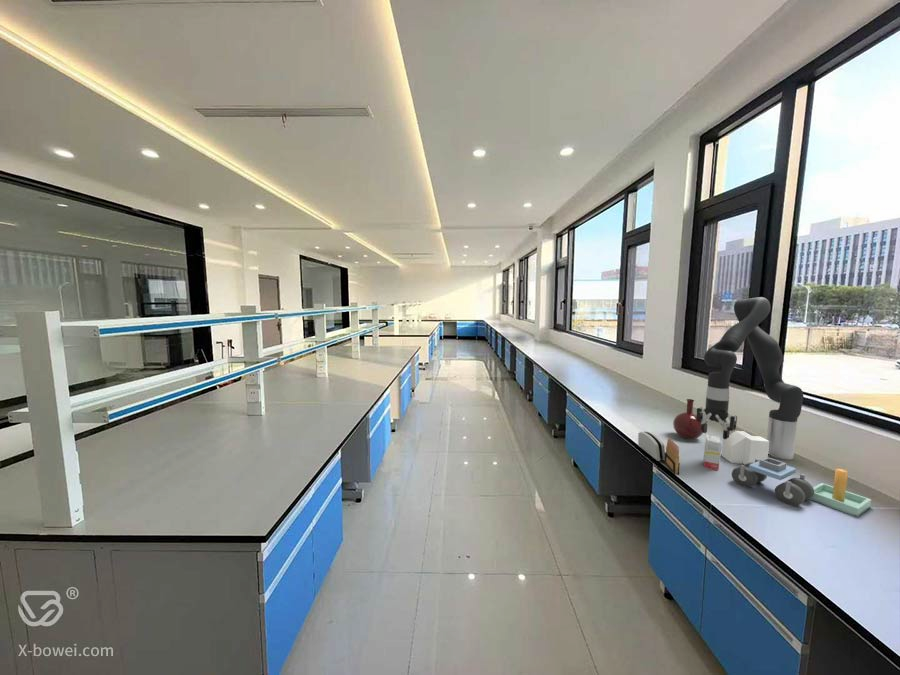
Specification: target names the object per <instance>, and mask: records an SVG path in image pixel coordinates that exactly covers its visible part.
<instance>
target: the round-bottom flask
mask: <svg viewBox="0 0 900 675" xmlns="http://www.w3.org/2000/svg"><path fill="white" fill-rule="evenodd" d="M686 402H687V403H686V411H685V412H681V413H678V414H677V415H676V416H675V417H674V419H673V422H672V426H673V429H674V431H675V432H676V433H677V435H678V436H680V437H682V438H683V439H687V440H694V439H699V438H700V437H701V436H702V435H703V434H704V433H703V432H702V431H701V425H702V424H701V423H700V422H698V421H697V413H693V412H694V411H693V410H694V402H695V399H692V398H691V399H689V398H687V399H686Z"/></svg>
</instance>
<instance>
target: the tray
mask: <svg viewBox="0 0 900 675" xmlns="http://www.w3.org/2000/svg"><path fill="white" fill-rule="evenodd" d="M812 487H813V489H814V495H813V496H812V497H811V498H809V499H808V500H811V501H813V502H816V503H819V504H822V505H824V506H826V507H829V508H831V509H835V510H837V511H840V512H843V513H846V514H847V515H850V516H854V517H856V518H858V517H860V516H861V515H863V514H864V512H866V511H867V510H869V509H870V508H871V504H872V499H871V498H868V497H865V496H862V495H859V494H856V493H853V492H850V491H847V490H846V492H845V500H844V503H843V502H840V501H838V500H835V499H832V495H833V487H834V485H829V484H827V483H824V482H823V483H822V482H821V483H818V484H817V485H815V486H812Z"/></svg>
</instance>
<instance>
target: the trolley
mask: <svg viewBox="0 0 900 675" xmlns="http://www.w3.org/2000/svg"><path fill="white" fill-rule="evenodd" d="M787 464H788V463H787V462H784V461H781V460H779V459H775V458H773V457H772V458H771V457H769V456H768V457H766V458H763V459H761V460H760V461H759V460H758V459H755V463H748V464H744V465H743V464H741V465H740V466H739V467H735V468H734V469H733V470H732V471H731V477H732V480H733V481H734V483H735V484H737V485H738V486H741V487H744V488H750V487H753V486H755V485H757V484H759V483H761V482H764V481H765V480H766V479H767V478H768V477H770V478H773V479H775V480H778V481H782V480H784V479H787V478H788V477H790V476H792V475H794V474H796V473H797V467H796V468H795V467H793V466H789V465H787ZM805 478H806V475H805V474H804V473H801V474H800V475H799V477H792V478H790V479H788V480H786V481H783V482H782V483H779V484H778V485H777V486H775V488H774V494H775V496H776V498H777V499H778V500H779V501H780V502H782V503H784V504H787V505H789V506H791V507H796V506H798V505H801V504H802V503H804V502H805V501H807V500H810V499H809V498H811V497H812V496H813V495H814V489H813V487H814V486H812V484H811V483H810V482H809V481H807V480H805Z"/></svg>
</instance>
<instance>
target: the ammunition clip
mask: <svg viewBox="0 0 900 675" xmlns="http://www.w3.org/2000/svg"><path fill="white" fill-rule="evenodd" d="M679 447H680V446H679V445H677V444H676V443H675V442H674V441H673V440H672V438H670V437H668V439H667V442H666V448H665V460H664V465H666V467H667V468H668V469H669V471H670V472H671V473H672V474H673V475H678V476H679V475H680V448H679Z"/></svg>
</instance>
